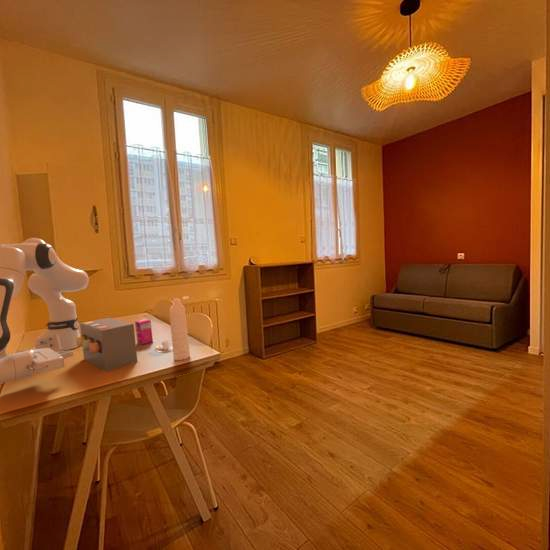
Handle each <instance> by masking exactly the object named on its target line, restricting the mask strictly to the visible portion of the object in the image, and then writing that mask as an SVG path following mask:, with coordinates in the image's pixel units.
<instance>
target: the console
mask: <svg viewBox="0 0 550 550" xmlns="http://www.w3.org/2000/svg"><path fill="white" fill-rule="evenodd" d="M79 328H80V337H82V336H85V337H86V339H92V340H93V343H94V342H99V343H100V346H101V351H100V352H97V353H93V354H91V353H90V351H89V349H88V350H84V349H83V348H82V353H83V360H85V361H87V362H88V363H90V364H91V365H94V366H95V367H97V368H99V369H100V370H102V371H103V372H110V371H113V370H116V369H119V368H122V367H126V366H129V365H132V364H136V363H138V353H137V345H136V344H137V342H136V335H135V334H136V332H135V323H132V322H128V321H123V320H120V319H115V318H112V317H105V318H100V319H95V320H89V321H84V322H80V323H79Z"/></svg>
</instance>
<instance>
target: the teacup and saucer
mask: <svg viewBox="0 0 550 550" xmlns="http://www.w3.org/2000/svg"><path fill="white" fill-rule="evenodd" d="M154 348H155V350H156V352H157V353H167V352H170V351H173V346H172V345H171V343H170V341H169V340H162V341H161V344H158V345H156V346H155V347H154Z"/></svg>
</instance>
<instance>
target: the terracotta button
mask: <svg viewBox="0 0 550 550" xmlns="http://www.w3.org/2000/svg"><path fill="white" fill-rule="evenodd" d="M89 351H90V353H91V354H93V353H97V352H100V351H101V346H100V343H99V342H94V343H90V344H89Z"/></svg>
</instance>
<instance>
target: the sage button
mask: <svg viewBox="0 0 550 550" xmlns="http://www.w3.org/2000/svg"><path fill="white" fill-rule="evenodd" d="M90 343H93V340H92V339H87V340H83V341H82V346H81V347H82V350H83V349H84V350H88V349H89V344H90Z"/></svg>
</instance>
